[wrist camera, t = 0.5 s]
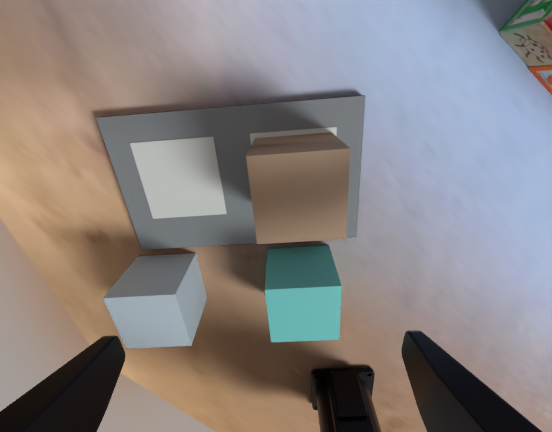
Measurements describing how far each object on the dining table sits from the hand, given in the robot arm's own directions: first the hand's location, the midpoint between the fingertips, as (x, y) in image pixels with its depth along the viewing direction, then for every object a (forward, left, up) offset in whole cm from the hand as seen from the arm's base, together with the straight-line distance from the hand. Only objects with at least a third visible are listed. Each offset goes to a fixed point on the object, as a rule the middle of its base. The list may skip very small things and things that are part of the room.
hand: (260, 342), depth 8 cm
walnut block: (+2, -2, -12) cm, 12 cm away
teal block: (-7, -2, -13) cm, 15 cm away
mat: (+1, +2, -13) cm, 13 cm away
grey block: (-7, +9, -13) cm, 17 cm away
